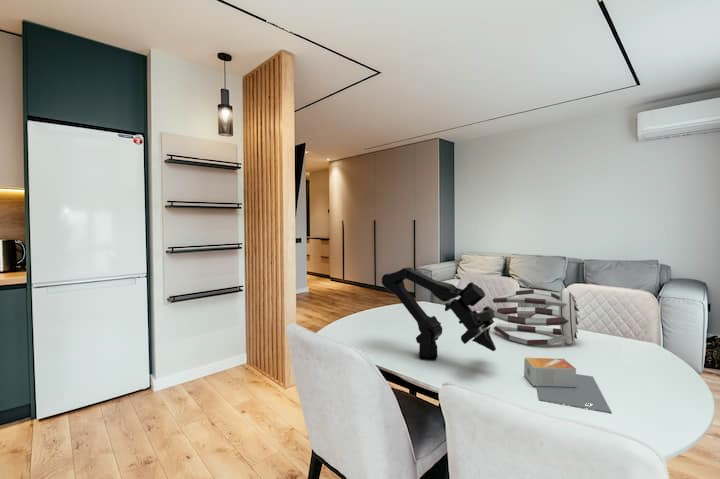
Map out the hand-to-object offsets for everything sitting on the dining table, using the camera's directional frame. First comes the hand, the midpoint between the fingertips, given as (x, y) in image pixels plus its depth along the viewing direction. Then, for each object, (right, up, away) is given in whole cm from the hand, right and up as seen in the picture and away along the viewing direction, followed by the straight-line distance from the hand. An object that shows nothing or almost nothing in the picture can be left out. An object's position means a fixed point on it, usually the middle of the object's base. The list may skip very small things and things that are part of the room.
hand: (494, 350), depth 120 cm
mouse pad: (+19, -9, -10) cm, 23 cm away
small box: (+9, -5, -5) cm, 12 cm away
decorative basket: (+32, -7, +37) cm, 49 cm away
